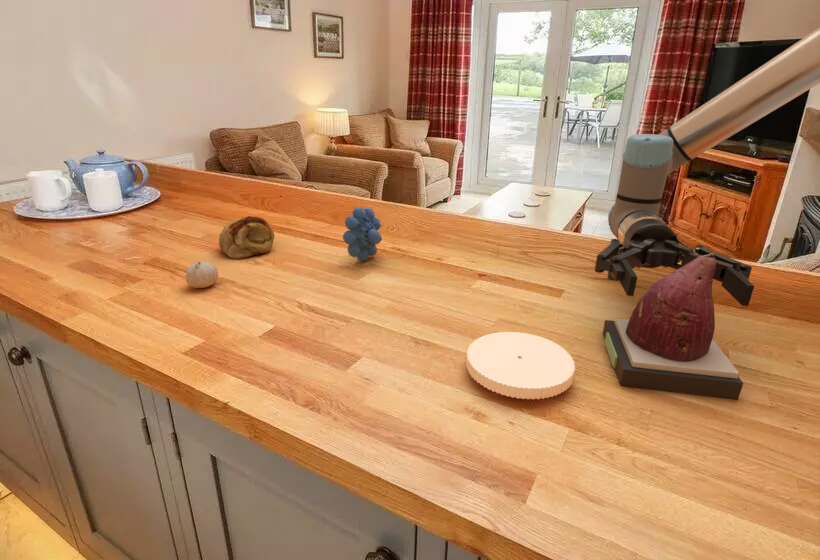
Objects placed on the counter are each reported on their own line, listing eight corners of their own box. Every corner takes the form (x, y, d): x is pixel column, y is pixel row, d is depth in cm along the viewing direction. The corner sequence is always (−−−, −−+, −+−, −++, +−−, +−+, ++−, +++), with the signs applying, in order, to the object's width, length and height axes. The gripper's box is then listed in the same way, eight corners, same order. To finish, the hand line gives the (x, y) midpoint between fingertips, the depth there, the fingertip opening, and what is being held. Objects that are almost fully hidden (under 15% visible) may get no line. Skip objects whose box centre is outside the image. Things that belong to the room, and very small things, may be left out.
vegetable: (699, 355, 70) (760, 263, 64) (695, 382, 62) (765, 279, 56) (628, 319, 75) (679, 230, 69) (615, 340, 66) (672, 240, 60)
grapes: (362, 273, 97) (361, 215, 93) (336, 266, 101) (334, 209, 96) (395, 257, 106) (396, 202, 102) (370, 251, 110) (370, 198, 105)
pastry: (248, 263, 102) (244, 225, 99) (204, 253, 107) (198, 217, 104) (291, 243, 114) (288, 210, 111) (249, 236, 119) (245, 203, 115)
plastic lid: (472, 405, 59) (473, 388, 58) (460, 346, 72) (461, 331, 71) (587, 406, 59) (590, 389, 58) (555, 347, 72) (557, 332, 71)
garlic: (203, 294, 87) (199, 267, 85) (180, 289, 89) (175, 262, 87) (226, 282, 93) (223, 256, 90) (204, 277, 94) (200, 252, 92)
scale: (699, 343, 74) (705, 324, 73) (738, 399, 61) (745, 377, 60) (600, 333, 76) (603, 314, 75) (617, 385, 64) (622, 363, 62)
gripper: (722, 266, 81) (789, 327, 62) (565, 255, 85) (582, 308, 66) (735, 222, 78) (808, 271, 59) (572, 213, 82) (591, 255, 63)
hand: (689, 291), depth 62 cm, fingers open, 13 cm apart
